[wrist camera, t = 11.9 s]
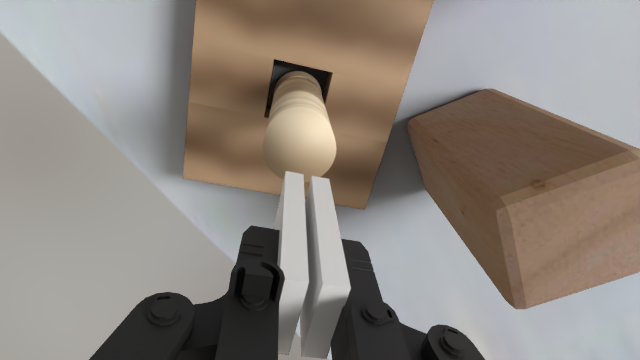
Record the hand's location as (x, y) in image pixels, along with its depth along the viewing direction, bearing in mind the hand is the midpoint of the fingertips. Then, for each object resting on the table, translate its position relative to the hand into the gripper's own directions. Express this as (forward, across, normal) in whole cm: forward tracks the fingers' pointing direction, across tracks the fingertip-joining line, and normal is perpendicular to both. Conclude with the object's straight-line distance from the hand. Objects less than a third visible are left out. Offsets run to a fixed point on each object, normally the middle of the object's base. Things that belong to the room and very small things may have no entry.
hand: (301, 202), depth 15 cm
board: (+24, 0, 0) cm, 24 cm away
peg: (+24, 0, 0) cm, 24 cm away
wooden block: (+25, +19, -2) cm, 31 cm away
